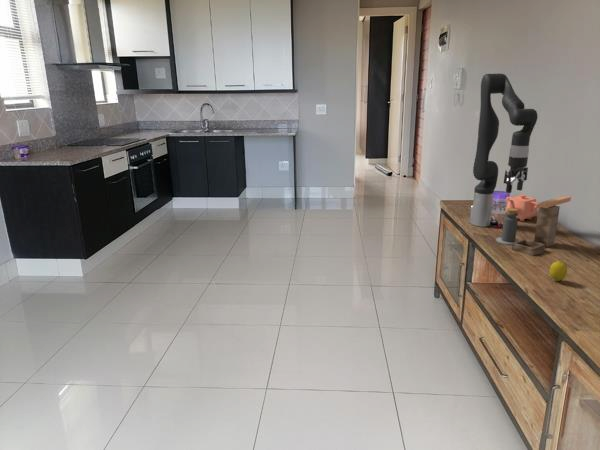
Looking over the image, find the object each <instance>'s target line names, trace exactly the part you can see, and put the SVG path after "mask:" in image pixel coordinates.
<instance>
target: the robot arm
mask: <svg viewBox="0 0 600 450" xmlns="http://www.w3.org/2000/svg"><path fill="white" fill-rule="evenodd" d="M492 94H493V95H494V94H501V95H502V98H501V104H502V107H503V108H504V110H505V111H506V112H507V113H508V117H509V122H510V123H511V124H512V125H513V126H517V127H518V126H519V127H521V126H523V127H522V128H521V129H520V130H518V131H517V130H516V131H514V132H513V133H512V137H511V143H510V144H511V145H510V148H509V153H508V154H509V155H508V163H507V166H509V167H510V168H509V169H505V171H504V177H503V184H505V185H506V188H505V193H507V194H511V193H512V190H513V183H514V182H516V181H517V184H516V190H517V191H523V188H524V186H523V185H524V182H525V181H527V180H528V171H529V167H527V166H528V159H529V154H530V153H529V152H530V141H531V135H532V133H533V130H534V128H535V126H536V124H537V121H538V112H537V110H535V108H525V103H524V102H523V101H522V100H521V99H520V97H519V96H518V95H517V94H516V92H515V90H514V88H513V86H512V84H511V81H510V80H509V78H508V77H507V75H506V74H504V73H486V74H484V75H482V78H481V82H480V109H479V111H480V113H479V119H478V120H479V121H478V129H477V130H478V131H477V132H478V133H477V142H476V143H477V144H476V151H475V157H474V163H473V167H472V173H473V176H474V178H475V180H477V181H480V182H479V183H478V184H477V185H475V187H474V191H473V192H474V194H473V202H472V203H473V204H472V205H471V207H470V215H469V224H471V225H473V226H476V227H483V228H484V227H490V225H491V219H492V210H493V202H494V193H495V189H496V188H497V183H498V178H499V177H498V176H499V167H498V163H497V162H495V161H493V160H489V156H490V152H491V151H492V147H493V146H494V144H495V142H496V140H497V138H498V135H499V129H500V120H499V117H498V114H497V113H496V111H495V109H494V108H493V104H492V98H491V95H492Z"/></svg>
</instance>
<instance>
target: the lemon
mask: <svg viewBox="0 0 600 450" xmlns="http://www.w3.org/2000/svg"><path fill="white" fill-rule="evenodd" d="M567 274H568V268H567V265H566V263H564V262H562V261H561V260H558V261H555V262H553V263H552V264H551V265H550V268H549V276H550V277H551V278H552V279H553V280H554V281H555V282H559V281H562V280H564V279H565V278H566V277H567Z"/></svg>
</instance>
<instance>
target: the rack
mask: <svg viewBox="0 0 600 450" xmlns="http://www.w3.org/2000/svg"><path fill="white" fill-rule="evenodd" d="M560 209H561V207H560V206H559V205H556V206H552V207H549V208H542V207H538V209H537V210H538V211H537V218H536V223H535V224H536V225H535V231H534V239H533V240H530V239H525V238H524V239H520V240H519V241H517V242H515V243H512V245H511V250H512V251H515V252H519V253H521V254H525V255H529V256H536V255H539V254H541V253H543V252H545V251H546V250H545V249H546V248H549V247H552V246H554V245H555V240H556V239H555V238H556V233H557V227H558V221H559V214H560Z"/></svg>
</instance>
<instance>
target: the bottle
mask: <svg viewBox="0 0 600 450" xmlns="http://www.w3.org/2000/svg"><path fill="white" fill-rule="evenodd" d="M517 211H518V210H517V209H515V208H507V212H506V211H505V217H504V218H503V224H502V232H501V237H502V239H501V240H502V241H505V242H514V241H515V239H517V237H516V236H517V229H518V223H519V218H516V216H518V213H517Z"/></svg>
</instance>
